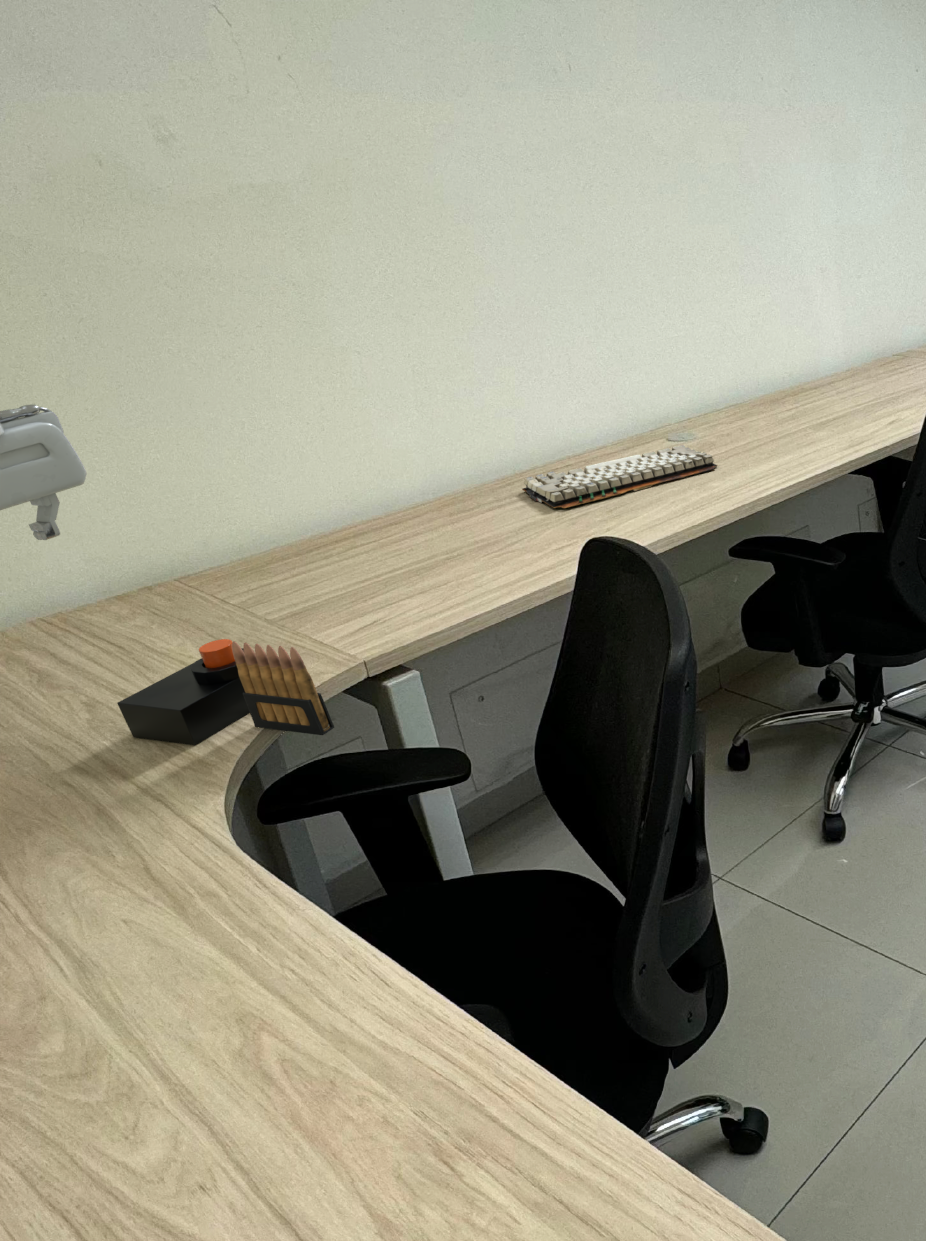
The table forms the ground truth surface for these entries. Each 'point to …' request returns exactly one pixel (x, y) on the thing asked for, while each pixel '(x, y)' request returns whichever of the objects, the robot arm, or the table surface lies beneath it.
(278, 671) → the ammunition clip
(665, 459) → the mechanical keyboard
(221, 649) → the orange push button
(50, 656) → the table surface
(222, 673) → the push button box
